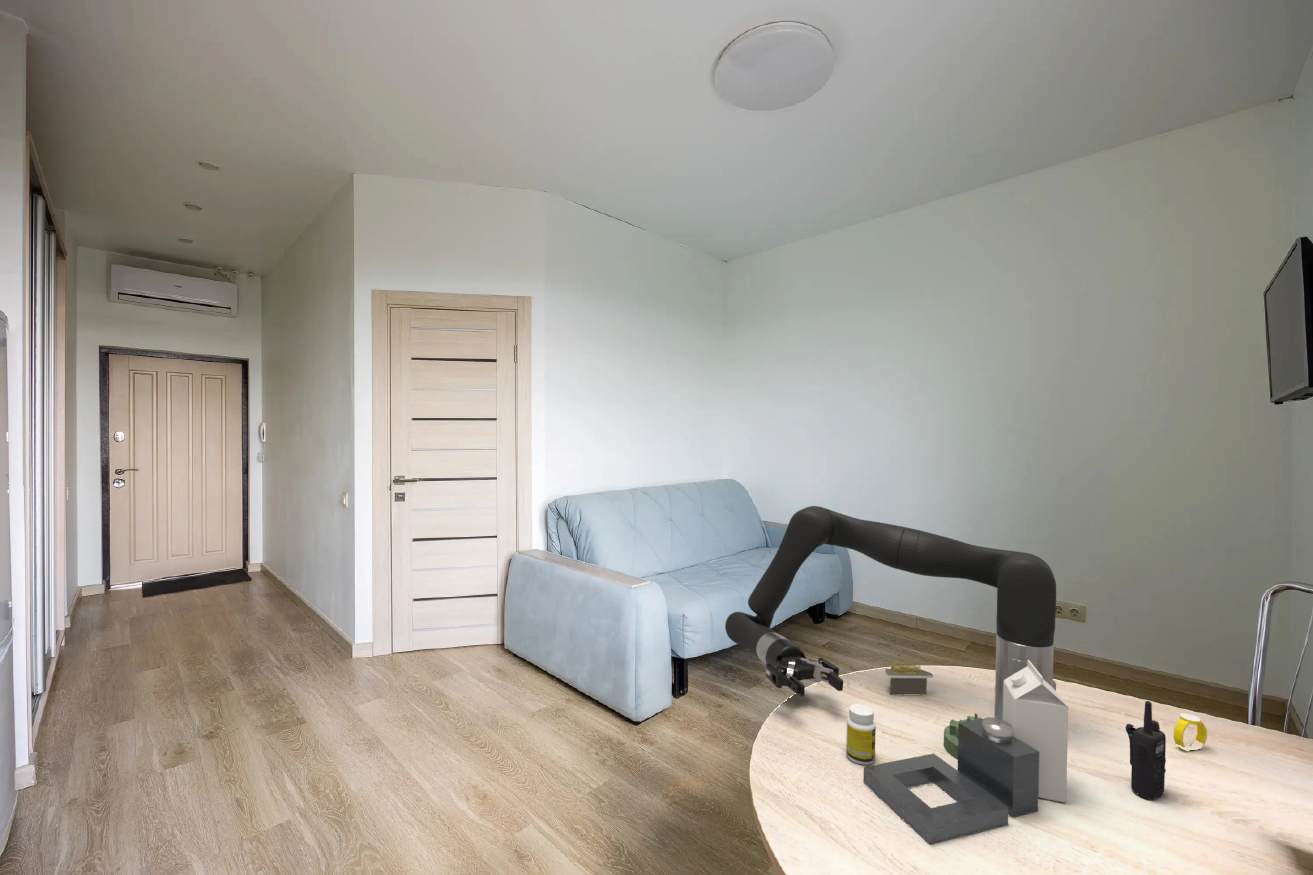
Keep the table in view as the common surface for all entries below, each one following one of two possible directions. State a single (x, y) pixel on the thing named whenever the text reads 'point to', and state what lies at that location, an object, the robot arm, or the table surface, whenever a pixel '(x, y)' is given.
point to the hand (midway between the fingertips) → (822, 688)
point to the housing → (964, 783)
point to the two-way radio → (1147, 756)
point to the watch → (1183, 723)
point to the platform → (907, 679)
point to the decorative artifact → (954, 736)
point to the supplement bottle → (860, 735)
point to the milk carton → (1039, 727)
